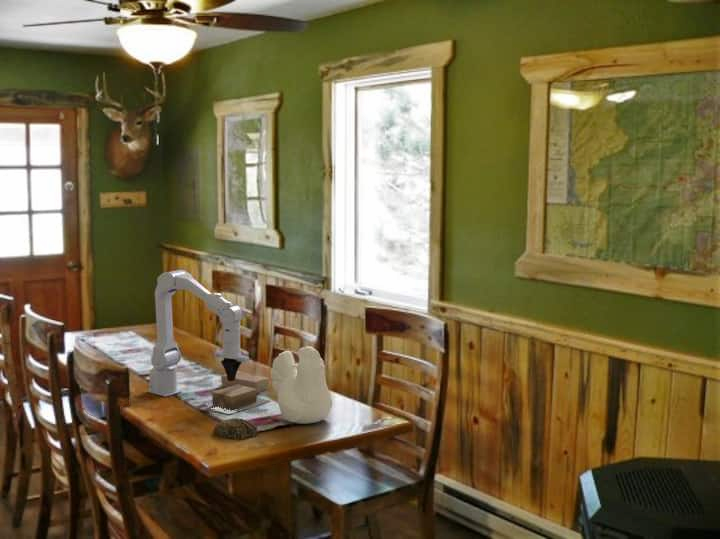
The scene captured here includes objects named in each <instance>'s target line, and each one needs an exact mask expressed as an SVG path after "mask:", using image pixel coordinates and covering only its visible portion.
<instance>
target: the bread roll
mask: <svg viewBox="0 0 720 539" xmlns="http://www.w3.org/2000/svg"><path fill="white" fill-rule="evenodd" d="M212 433H213V435H214V436H215V437H218V438H222V439H225V438H226V439H227V440H229V439H230V440H235V439H236V440H235V441H238V440H237V439H239V441H240V440H241V439H242V440H245V439H247V438H249V437H252V436H254V437H257V436H258V426H256V425H255V424H253V423H251V422H249V421H248V420H246V419H244V418H238V417H237V418H234V417H233V418H229V419H223V420H222V421H220V422H218V423H217V424H216V426H214V427H213V430H212ZM226 439H225V440H226ZM242 440H241V441H242Z"/></svg>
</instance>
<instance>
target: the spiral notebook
mask: <svg viewBox="0 0 720 539" xmlns="http://www.w3.org/2000/svg"><path fill="white" fill-rule="evenodd" d="M269 402H271V400H268V399H266V398H265V399H264V398H261V397H257V402H255V403H252V404H249V405H246V406H242V407H239V408H236V409H237V410H236V411H238V410H241V409H242V410H244V411H246V410H245V409H247V410H249V409H252V408H255V407H257V406H261V405H264V404H267V403H269ZM260 404H261V405H260ZM254 406H255V407H254ZM213 407H214V408H215V407H218V406H215V405H211V406H208V407H206V408H207V409H206V410H209V409H211V408H213ZM251 407H252V408H251ZM219 408H220V407H219ZM221 408H222V407H221ZM222 409H224V408H222ZM212 410H213V409H211V410H210V411H212ZM214 410H215V409H214ZM226 410H227V409H226ZM228 410H229V409H228ZM233 410H235V409H233ZM242 410H241V412H243V411H242ZM224 411H225V410H224ZM231 411H232V410H231Z"/></svg>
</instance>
